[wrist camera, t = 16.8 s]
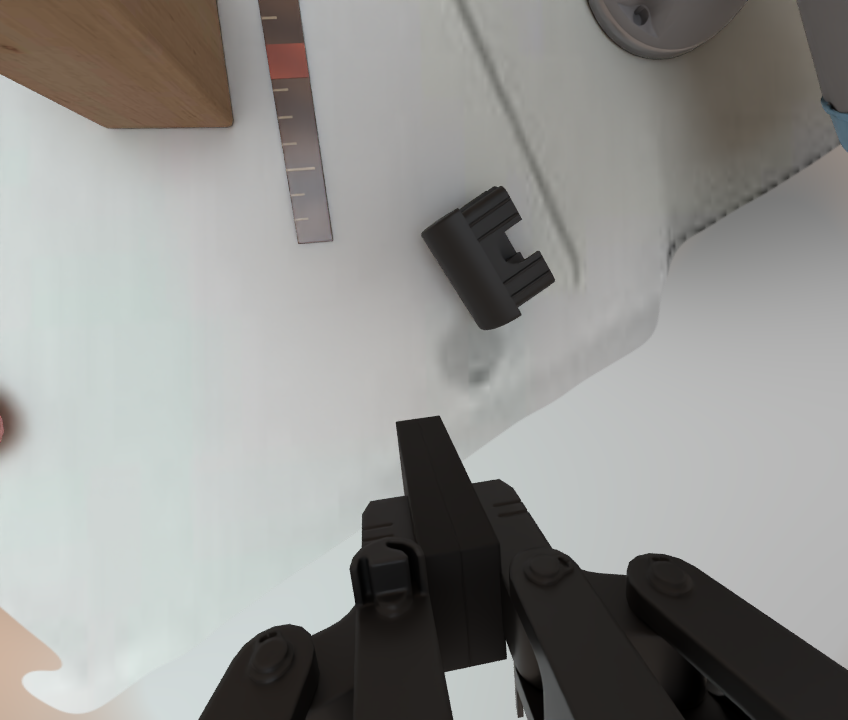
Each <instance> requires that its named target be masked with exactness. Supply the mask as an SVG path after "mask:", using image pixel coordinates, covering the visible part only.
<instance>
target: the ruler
mask: <svg viewBox="0 0 848 720" xmlns="http://www.w3.org/2000/svg"><path fill="white" fill-rule="evenodd" d="M258 2H259V8H260V14H261V20H262V26H263V32H264V38H265V44H266V45H265V46H266V52H267V58H268V64H269V70H270V76H271V81H272V87H273V93H274V99H275V105H276V111H277V118H278V123H279V129H280V135H281V141H282V148H283V154H284V160H285V166H286V172H287V178H288V184H289V190H290V196H291V202H292V208H293V214H294V221H295V226H296V233H297V239H298V244H303V243H314V242H325V241H333V238H332V231H331V224H330V217H329V210H328V203H327V196H326V189H325V182H324V175H323V168H322V162H321V155H320V148H319V141H318V134H317V127H316V120H315V113H314V106H313V99H312V92H311V85H310V79H309V72H308V65H307V58H306V51H305V44H304V37H303V30H302V23H301V16H300V9H299V2H298V0H258Z"/></svg>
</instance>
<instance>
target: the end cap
mask: <svg viewBox="0 0 848 720" xmlns="http://www.w3.org/2000/svg"><path fill="white" fill-rule="evenodd" d="M521 220H522V218H521V216H520V215H519V213H518V211H517V209H516V207H515V206H514V204H513V202H512V200H511V198H510V196H509V195H508V193H507V191H506V190H505V188H504V187H503V186H499V187H495V186H494V187H492V188H491V189H489V190H488V191H485V192H484V193H482V194H481V195H479V196H478V197H477V198H475V199H474V200H472V201H471V202H469V203H468V204H467V205H465V206H464V207H462V208H461V209H458V208H457V209H455V210H454V211H452V212H450V213H448V214H447V215H445V216H444V217H442V218H441V219H439V220H438V221H436V222H435V223H434V224H432V225H431V226H429V227H428V228H427V229H425V230H424V231H423V232H422V233H421V236H422V238H423V239H424V241H425V242H426V244H427V246H428V247H429V249H430V250H431V252H432V254H433V255H434V257H435V258H436V260H437V261H438V263H439V265H440V266H441V268H442V269H443V271H444V273H445V274H446V276H447V277H448V279H449V280H450V282H451V284H452V285H453V287H454V288H455V290H456V291H457V293H458V295H459V296H460V298H461V299H462V301H463V303H464V304H465V306H466V307H467V309H468V310H469V312H470V314H471V315H472V317H473V318H474V320H475V322H476V323H477V325H478V326H479V328H480V329H482V330H491V329H495V328H498V327H501V326H503V325H505V324H507V323H509V322H511V321H513V320H515V319H516V318H518V317H519V316H521V313H520V311H519V309H518V307H519V306H521V305H522V304H523V303H525V302H526V301H528V300H529V299H531V298H532V297H534V296H535V295H537V294H538V293H539V292H541V291H542V290H544V289H545V288H547V287H548V286H550V285H551V284H552V283H554V282H555V279H554V276H553V275H552V273H551V271H550V269H549V267H548V266H547V264H546V262H545V260H544V258H543V256H542V255H541V253H540V251H537V252H535V253H534V254H532V255H531V256H529V257H528V258H526V259H525V260H524V258H523V256H522V255H521V253H520V252H518V253H516V251H515V250H514V248H513V246H512V244H511V243H510V241H509V239H508V237H507V236H506V234H505V231H506V230H507V229H509V228H510V227H512V226H513V225H515V224H516V223H518V222H519V221H521Z"/></svg>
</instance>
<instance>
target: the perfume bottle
mask: <svg viewBox="0 0 848 720" xmlns="http://www.w3.org/2000/svg"><path fill="white" fill-rule="evenodd" d="M3 433H4V428H3V421H2V418H1V416H0V442H1V439H2V436H3Z"/></svg>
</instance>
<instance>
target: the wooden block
mask: <svg viewBox="0 0 848 720" xmlns="http://www.w3.org/2000/svg"><path fill="white" fill-rule="evenodd" d="M0 74H1V75H3V76H5V77H7V78H9V79H11V80H13V81H15V82H17V83H19V84H21V85H23V86H25V87H27V88H29V89H31V90H33V91H35V92H37V93H39V94H40V95H42V96H44V97H46V98H48V99H50V100H52V101H54V102H56V103H58V104H60V105H62V106H64V107H66V108H68V109H70V110H72V111H74V112H76V113H78V114H80V115H82V116H84V117H86V118H88V119H89V120H91V121H93V122H95V123H97V124H99V125H101V126H104V127H106V128H167V127H228V126H231V125H232V122H233V116H232V109H231V102H230V95H229V88H228V81H227V74H226V67H225V60H224V53H223V46H222V39H221V32H220V25H219V18H218V11H217V4H216V0H0Z"/></svg>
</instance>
